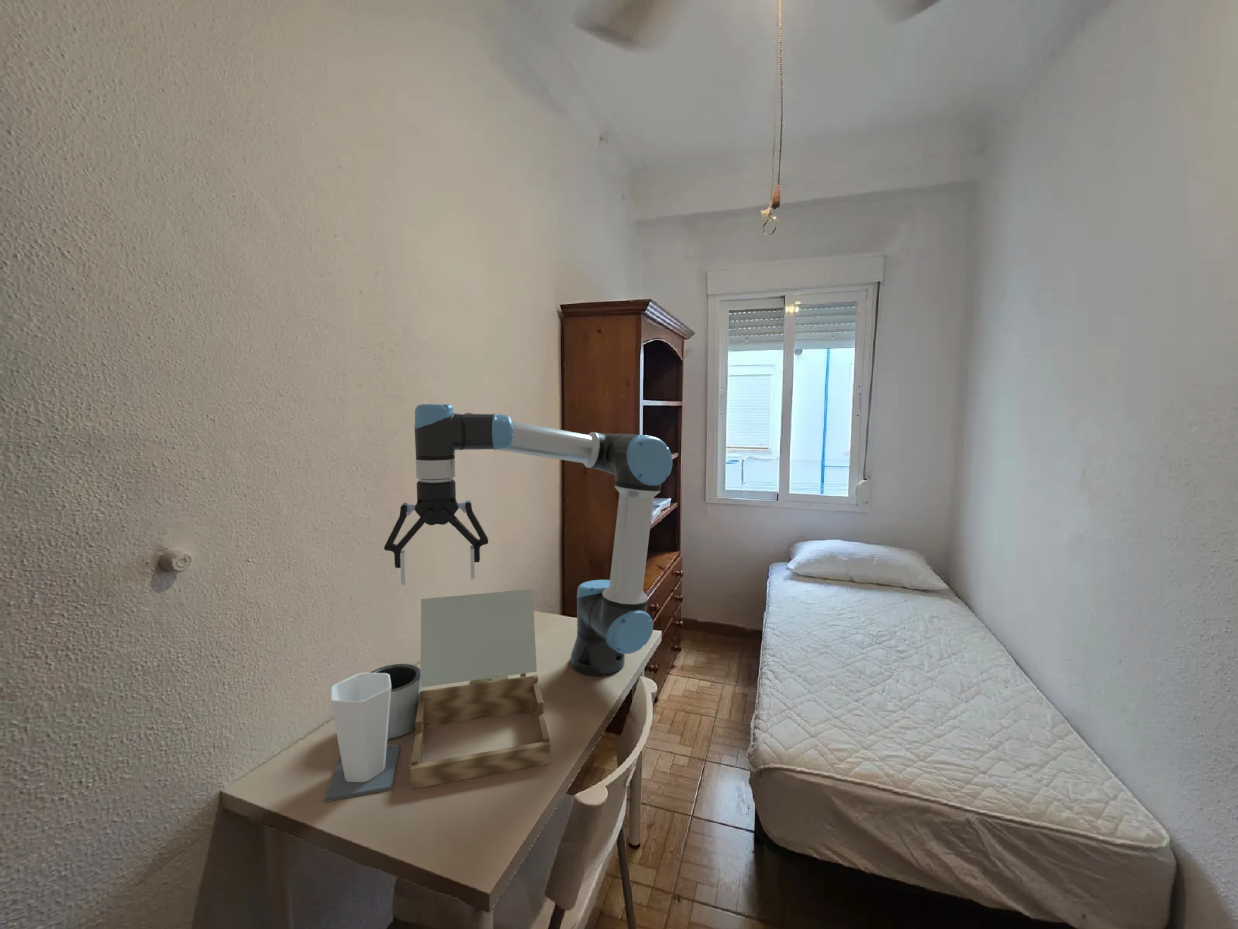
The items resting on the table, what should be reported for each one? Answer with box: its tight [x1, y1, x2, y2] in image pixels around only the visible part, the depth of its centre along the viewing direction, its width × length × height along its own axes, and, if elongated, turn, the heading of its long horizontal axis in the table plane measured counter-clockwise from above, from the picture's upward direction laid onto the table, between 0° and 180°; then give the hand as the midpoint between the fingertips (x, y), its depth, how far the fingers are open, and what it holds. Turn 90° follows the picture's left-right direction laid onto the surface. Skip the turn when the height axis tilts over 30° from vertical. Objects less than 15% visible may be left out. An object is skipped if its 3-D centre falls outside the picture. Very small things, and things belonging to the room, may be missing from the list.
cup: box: [329, 672, 391, 782], centre depth 97 cm, size 11×10×17 cm
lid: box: [420, 588, 538, 688], centre depth 118 cm, size 26×19×1 cm
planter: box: [369, 663, 423, 740], centre depth 112 cm, size 13×13×11 cm
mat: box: [324, 744, 401, 802], centre depth 97 cm, size 11×12×1 cm
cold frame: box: [409, 673, 551, 790], centre depth 108 cm, size 26×25×16 cm
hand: (439, 580), depth 105 cm, fingers open, 13 cm apart
